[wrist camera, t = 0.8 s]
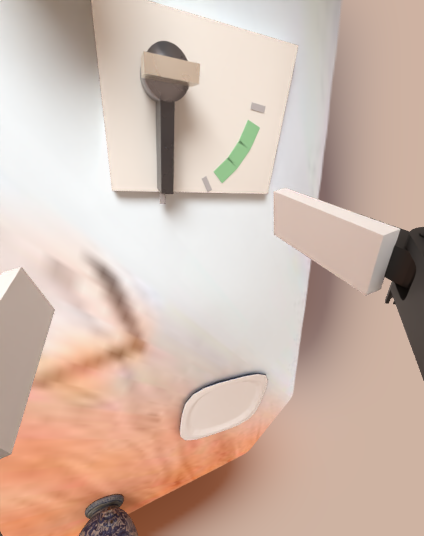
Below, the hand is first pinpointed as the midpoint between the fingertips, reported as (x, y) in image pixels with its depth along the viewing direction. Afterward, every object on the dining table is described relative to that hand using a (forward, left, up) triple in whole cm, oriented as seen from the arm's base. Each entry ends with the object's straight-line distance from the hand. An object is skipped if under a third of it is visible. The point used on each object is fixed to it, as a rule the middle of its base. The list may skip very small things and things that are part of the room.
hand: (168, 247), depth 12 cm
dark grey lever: (-6, +3, -19) cm, 21 cm away
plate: (+60, +20, -22) cm, 67 cm away
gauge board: (-7, +8, -21) cm, 24 cm away
